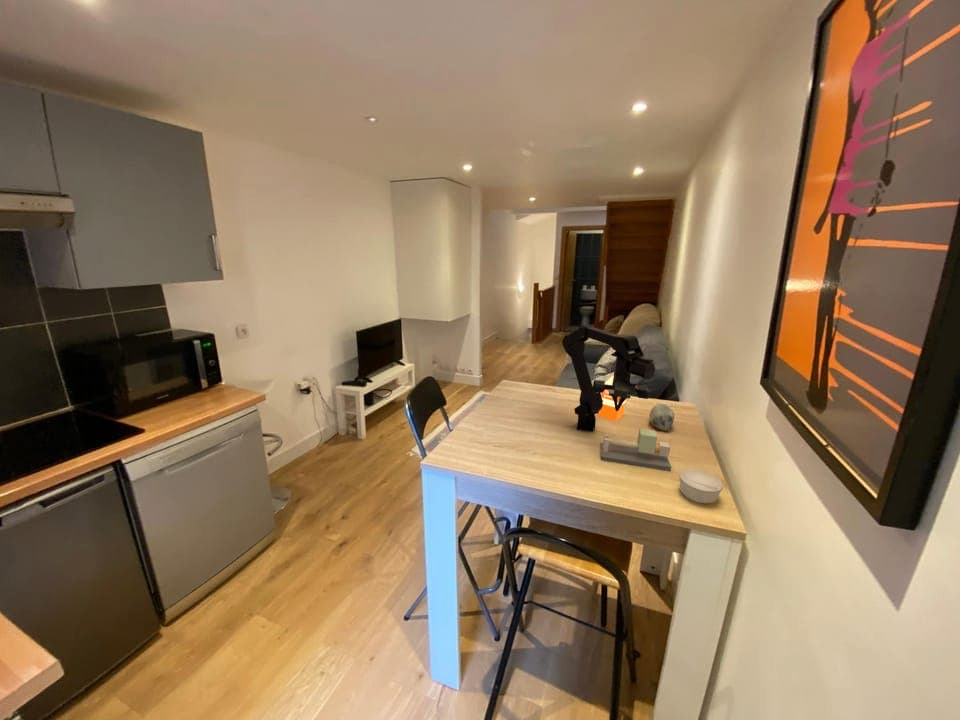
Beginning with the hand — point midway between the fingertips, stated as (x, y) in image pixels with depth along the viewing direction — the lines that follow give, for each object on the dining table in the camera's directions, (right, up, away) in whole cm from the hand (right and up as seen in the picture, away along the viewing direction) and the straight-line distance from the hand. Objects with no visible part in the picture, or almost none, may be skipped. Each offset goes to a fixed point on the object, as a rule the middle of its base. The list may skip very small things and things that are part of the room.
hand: (616, 410), depth 139 cm
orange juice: (+7, -6, +27) cm, 28 cm away
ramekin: (+15, -22, -26) cm, 37 cm away
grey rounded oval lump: (+25, -9, +18) cm, 32 cm away
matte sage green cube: (+7, -12, -9) cm, 17 cm away
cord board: (+3, -15, -7) cm, 17 cm away
